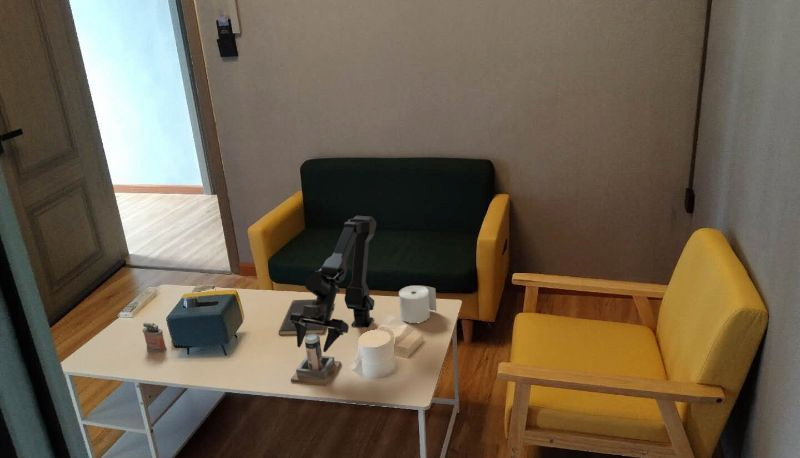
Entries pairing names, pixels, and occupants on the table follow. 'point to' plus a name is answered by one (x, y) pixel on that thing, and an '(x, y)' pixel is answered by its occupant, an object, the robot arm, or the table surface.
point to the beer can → (314, 352)
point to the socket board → (316, 372)
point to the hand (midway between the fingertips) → (311, 349)
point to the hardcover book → (298, 308)
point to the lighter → (154, 338)
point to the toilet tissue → (416, 303)
